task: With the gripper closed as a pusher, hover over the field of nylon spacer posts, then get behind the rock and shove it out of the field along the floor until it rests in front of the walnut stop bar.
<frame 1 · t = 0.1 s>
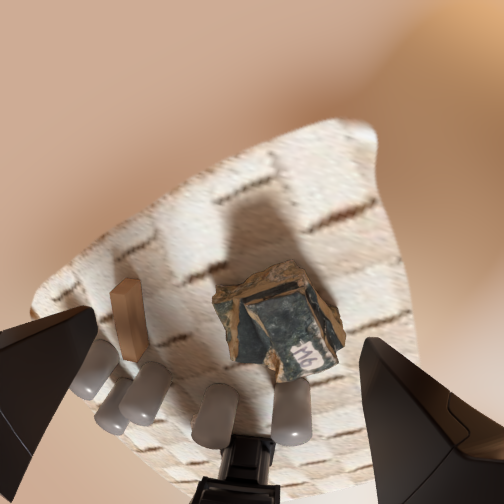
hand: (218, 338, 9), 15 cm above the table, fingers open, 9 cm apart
stop bar: (137, 313, 27), on the table
rock: (278, 307, 25), on the table
spacers: (247, 449, 32), on the table
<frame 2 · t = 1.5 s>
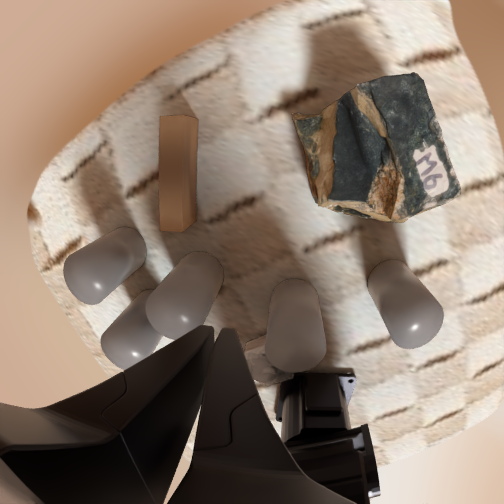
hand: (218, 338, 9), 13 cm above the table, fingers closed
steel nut: (270, 353, 24), on the table
stop bar: (186, 170, 20), on the table
rock: (366, 150, 19), on the table
spacers: (314, 397, 25), on the table
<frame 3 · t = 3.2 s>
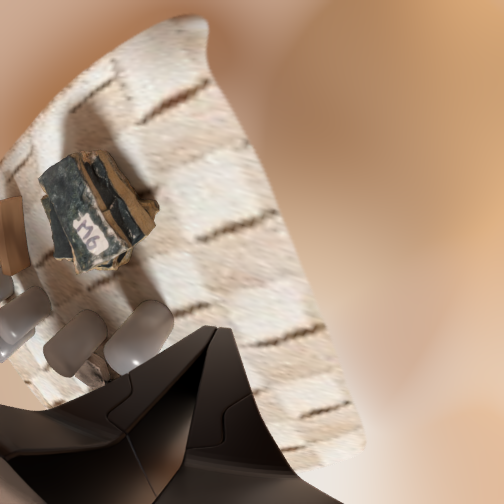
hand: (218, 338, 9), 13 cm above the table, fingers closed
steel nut: (93, 364, 28), on the table
stop bar: (20, 231, 24), on the table
rock: (104, 208, 22), on the table
spacers: (136, 405, 29), on the table
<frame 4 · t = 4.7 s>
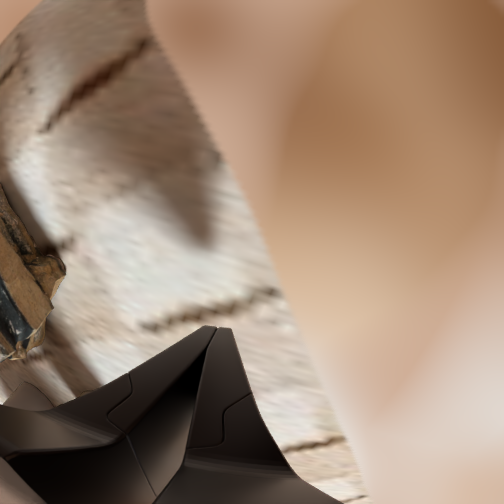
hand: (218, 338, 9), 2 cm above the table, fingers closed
rock: (9, 261, 13), on the table
spacers: (105, 478, 19), on the table
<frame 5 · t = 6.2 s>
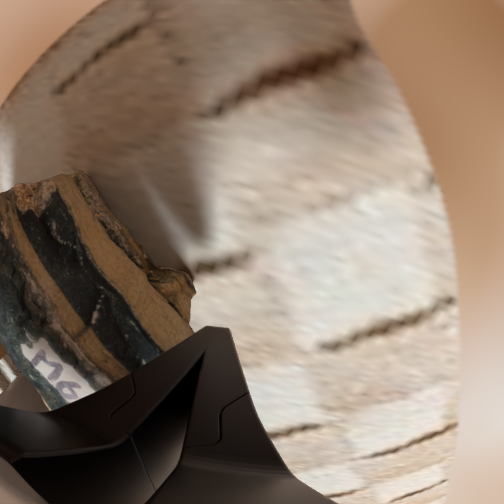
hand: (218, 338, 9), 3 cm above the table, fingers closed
rock: (89, 274, 12), on the table, touching gripper
spacers: (184, 503, 19), on the table
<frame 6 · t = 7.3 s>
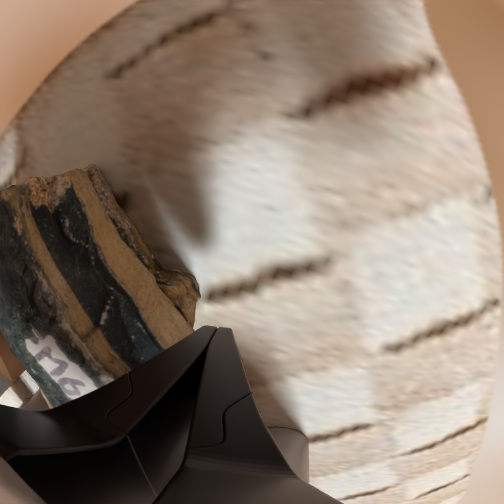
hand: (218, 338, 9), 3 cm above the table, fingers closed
stop bar: (16, 301, 13), on the table
rock: (93, 268, 12), on the table
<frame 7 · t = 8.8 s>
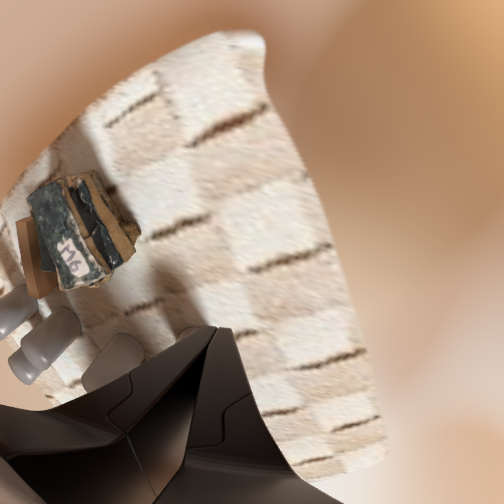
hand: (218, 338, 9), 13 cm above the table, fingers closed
stop bar: (47, 250, 24), on the table
rock: (90, 224, 23), on the table
spacers: (169, 422, 29), on the table
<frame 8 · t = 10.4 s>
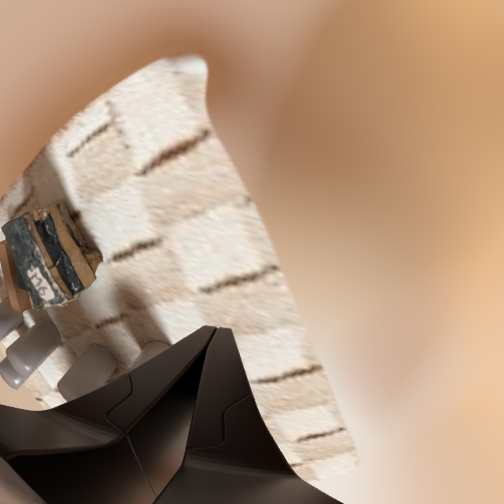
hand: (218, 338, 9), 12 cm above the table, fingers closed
stop bar: (27, 268, 24), on the table
rock: (61, 247, 24), on the table
spacers: (144, 426, 30), on the table
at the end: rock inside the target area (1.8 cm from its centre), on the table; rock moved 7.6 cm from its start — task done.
